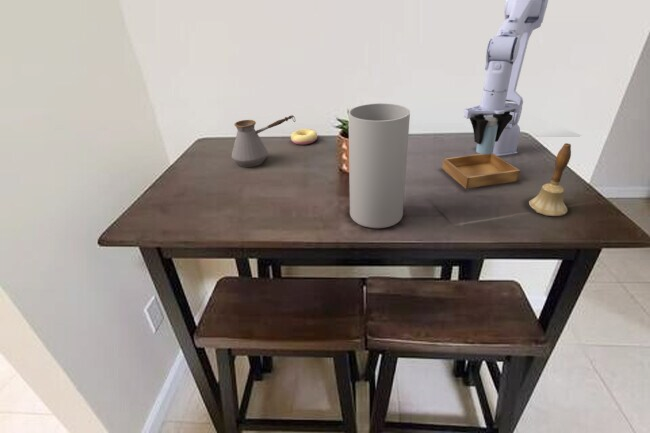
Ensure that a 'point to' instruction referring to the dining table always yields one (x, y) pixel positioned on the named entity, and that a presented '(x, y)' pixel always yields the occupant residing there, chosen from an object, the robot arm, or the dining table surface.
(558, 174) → the hand bell
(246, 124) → the coffee pot
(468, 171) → the wooden tray
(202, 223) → the dining table surface
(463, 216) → the dining table surface
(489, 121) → the shaker
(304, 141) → the donut
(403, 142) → the cylinder vase
